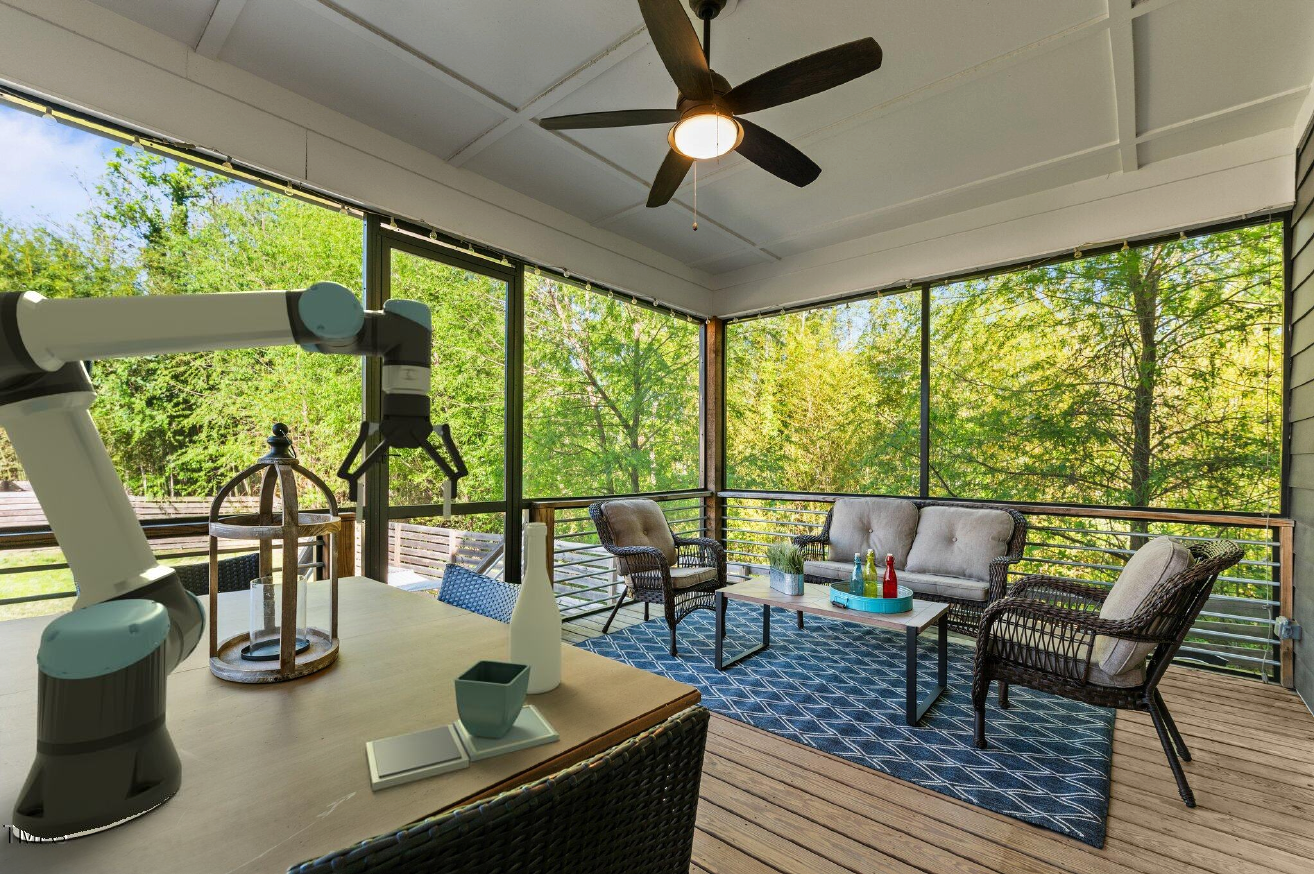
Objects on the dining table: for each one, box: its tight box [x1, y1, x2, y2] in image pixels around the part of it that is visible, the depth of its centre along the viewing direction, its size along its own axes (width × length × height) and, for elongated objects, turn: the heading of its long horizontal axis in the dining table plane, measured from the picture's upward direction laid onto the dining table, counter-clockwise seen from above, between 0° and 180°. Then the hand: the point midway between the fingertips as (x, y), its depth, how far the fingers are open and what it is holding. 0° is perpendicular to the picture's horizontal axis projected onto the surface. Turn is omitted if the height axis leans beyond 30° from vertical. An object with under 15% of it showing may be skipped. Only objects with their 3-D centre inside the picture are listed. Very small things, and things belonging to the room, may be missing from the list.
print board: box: [452, 704, 560, 763], centre depth 92 cm, size 13×12×1 cm
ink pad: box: [365, 723, 470, 791], centre depth 84 cm, size 12×12×1 cm
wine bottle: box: [508, 521, 563, 695], centre depth 111 cm, size 10×10×30 cm
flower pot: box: [454, 659, 531, 738], centre depth 91 cm, size 9×9×9 cm
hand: (404, 520), depth 100 cm, fingers open, 13 cm apart
